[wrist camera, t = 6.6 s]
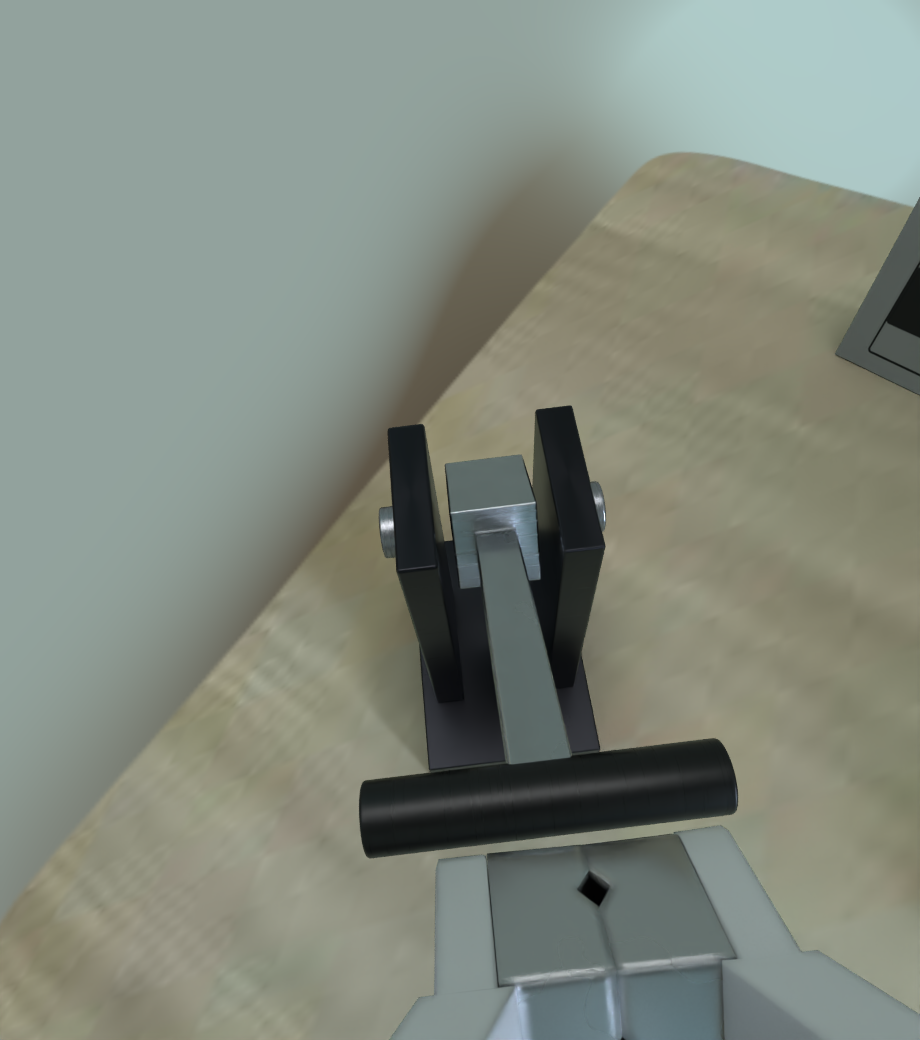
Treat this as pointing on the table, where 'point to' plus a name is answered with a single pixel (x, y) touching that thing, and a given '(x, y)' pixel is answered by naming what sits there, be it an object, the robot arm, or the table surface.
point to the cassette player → (891, 315)
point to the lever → (530, 714)
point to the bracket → (460, 613)
